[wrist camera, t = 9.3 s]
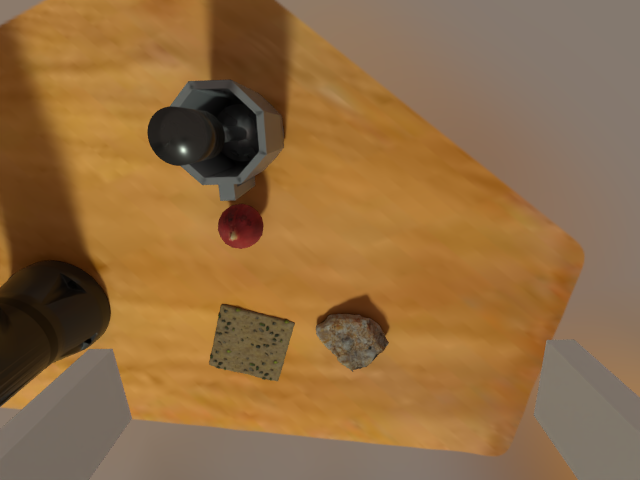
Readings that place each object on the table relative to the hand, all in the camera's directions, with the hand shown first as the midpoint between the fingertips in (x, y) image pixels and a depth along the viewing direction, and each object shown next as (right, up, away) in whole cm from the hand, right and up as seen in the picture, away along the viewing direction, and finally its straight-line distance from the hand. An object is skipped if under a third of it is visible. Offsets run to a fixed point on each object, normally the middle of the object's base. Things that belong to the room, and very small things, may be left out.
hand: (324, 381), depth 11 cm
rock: (+5, -10, +44) cm, 46 cm away
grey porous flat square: (-11, -12, +45) cm, 48 cm away
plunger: (-10, +17, +32) cm, 37 cm away
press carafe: (-10, +18, +35) cm, 41 cm away
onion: (-10, +7, +39) cm, 41 cm away
